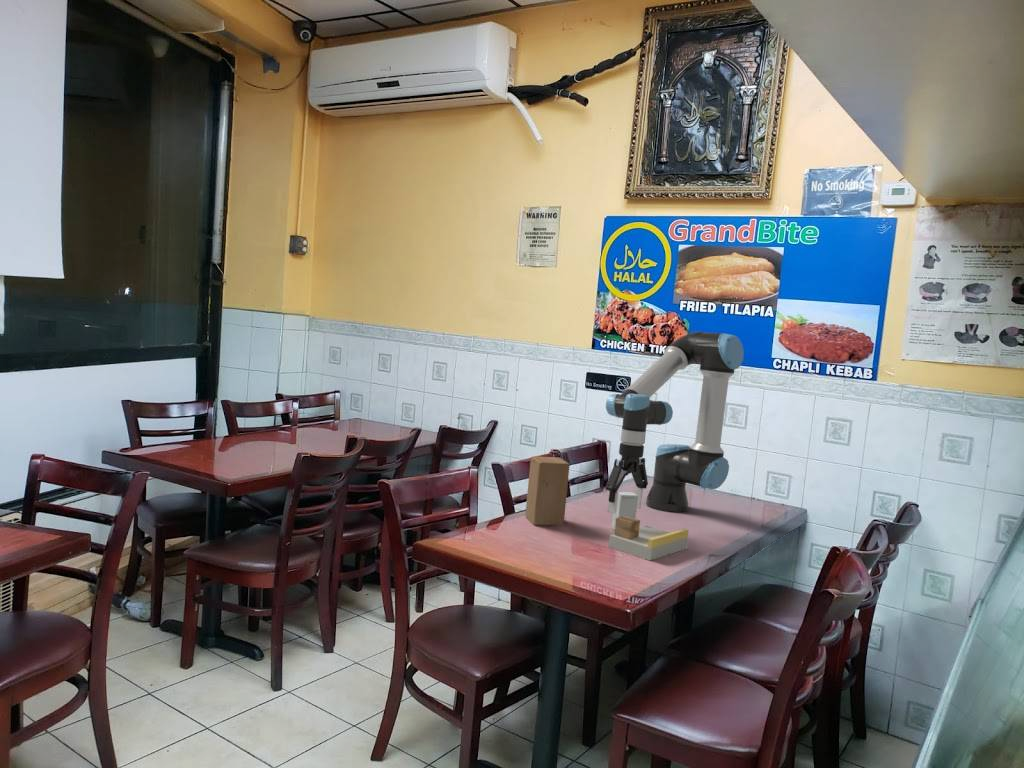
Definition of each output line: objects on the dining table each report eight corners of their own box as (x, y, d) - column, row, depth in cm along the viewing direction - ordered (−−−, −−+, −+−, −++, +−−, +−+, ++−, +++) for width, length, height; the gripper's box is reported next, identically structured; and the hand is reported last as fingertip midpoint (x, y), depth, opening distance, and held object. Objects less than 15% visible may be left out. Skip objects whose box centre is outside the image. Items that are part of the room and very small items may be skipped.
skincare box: (616, 532, 236) (620, 495, 235) (611, 528, 240) (615, 491, 239) (634, 532, 238) (638, 495, 237) (628, 528, 242) (632, 492, 241)
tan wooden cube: (624, 532, 224) (625, 515, 223) (638, 536, 220) (640, 520, 220) (614, 535, 220) (616, 518, 219) (628, 539, 217) (630, 522, 216)
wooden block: (533, 525, 235) (539, 462, 233) (524, 516, 245) (530, 455, 243) (564, 526, 238) (570, 463, 236) (553, 517, 247) (559, 457, 246)
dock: (646, 536, 234) (648, 518, 234) (686, 549, 225) (688, 529, 224) (608, 547, 219) (610, 527, 219) (649, 560, 210) (652, 540, 210)
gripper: (643, 439, 248) (636, 503, 250) (599, 442, 230) (591, 511, 231) (663, 443, 243) (655, 508, 245) (619, 447, 225) (611, 517, 226)
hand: (624, 510), depth 238 cm, fingers open, 13 cm apart
